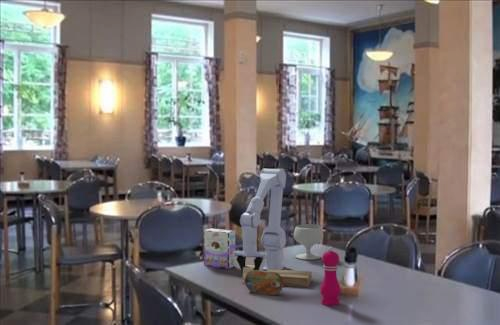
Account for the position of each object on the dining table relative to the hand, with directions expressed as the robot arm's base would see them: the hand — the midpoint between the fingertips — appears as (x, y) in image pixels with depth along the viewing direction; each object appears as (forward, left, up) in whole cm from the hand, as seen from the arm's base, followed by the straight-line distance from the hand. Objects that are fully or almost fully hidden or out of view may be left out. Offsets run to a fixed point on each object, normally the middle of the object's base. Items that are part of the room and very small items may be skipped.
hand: (249, 274), depth 233 cm
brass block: (0, +16, -2) cm, 16 cm away
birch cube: (0, 0, -2) cm, 2 cm away
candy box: (-15, -20, -2) cm, 25 cm away
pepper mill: (+21, +38, -2) cm, 43 cm away
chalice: (-45, +13, -2) cm, 47 cm away
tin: (+17, +12, -2) cm, 21 cm away
